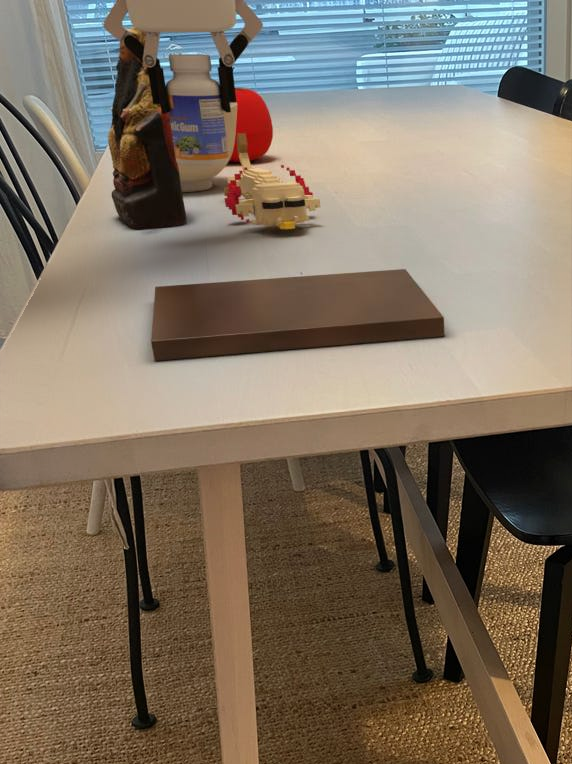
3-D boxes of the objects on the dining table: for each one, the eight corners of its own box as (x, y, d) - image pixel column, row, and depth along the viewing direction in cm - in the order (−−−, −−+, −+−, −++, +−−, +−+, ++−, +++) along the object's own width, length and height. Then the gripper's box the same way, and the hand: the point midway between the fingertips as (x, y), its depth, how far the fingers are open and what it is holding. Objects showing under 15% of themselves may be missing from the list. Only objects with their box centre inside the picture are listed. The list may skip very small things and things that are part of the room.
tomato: (268, 166, 149) (259, 87, 143) (192, 167, 149) (179, 88, 143) (283, 154, 159) (275, 80, 153) (211, 155, 159) (200, 81, 153)
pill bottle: (165, 164, 102) (147, 55, 96) (205, 158, 105) (190, 53, 100) (201, 168, 99) (185, 56, 94) (241, 162, 103) (227, 54, 97)
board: (154, 361, 73) (150, 341, 72) (158, 304, 86) (154, 286, 85) (444, 336, 77) (444, 317, 76) (406, 285, 90) (405, 268, 89)
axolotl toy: (210, 212, 126) (244, 233, 105) (198, 135, 121) (230, 142, 101) (287, 206, 129) (334, 225, 108) (277, 131, 124) (325, 136, 104)
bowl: (248, 195, 128) (237, 109, 123) (121, 201, 126) (104, 113, 120) (247, 176, 141) (236, 97, 136) (131, 181, 139) (116, 100, 133)
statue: (114, 215, 119) (74, 19, 107) (181, 209, 121) (149, 17, 110) (124, 234, 109) (82, 22, 98) (197, 228, 112) (164, 21, 101)
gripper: (258, -106, 95) (278, 107, 104) (70, -111, 91) (110, 110, 101) (263, -114, 88) (284, 113, 98) (62, -119, 85) (105, 117, 95)
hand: (196, 109), depth 99 cm, fingers closed on pill bottle, 5 cm apart
